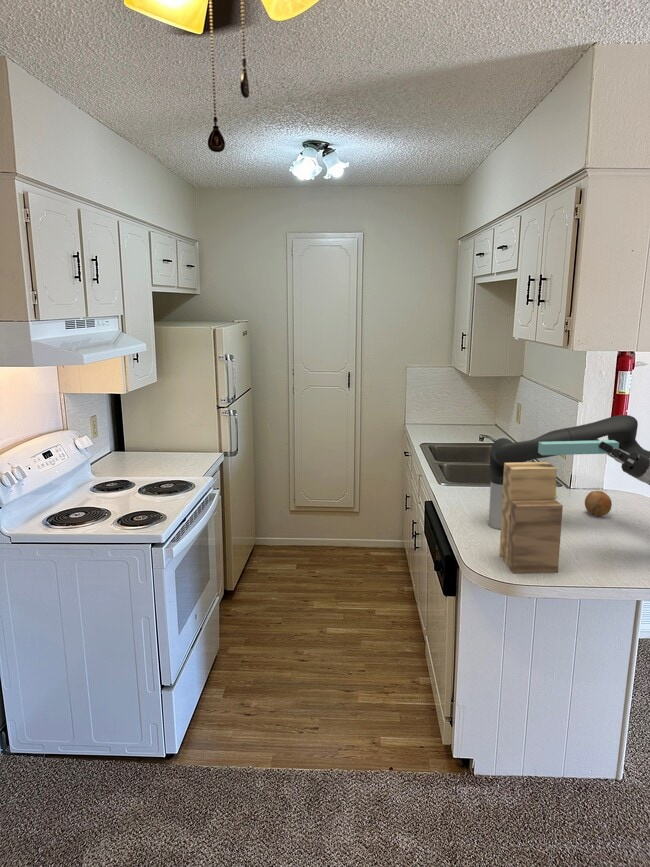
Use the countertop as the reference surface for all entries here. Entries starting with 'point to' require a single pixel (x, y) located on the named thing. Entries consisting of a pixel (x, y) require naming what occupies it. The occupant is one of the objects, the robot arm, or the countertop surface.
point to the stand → (524, 492)
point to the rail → (574, 447)
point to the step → (535, 536)
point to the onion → (598, 503)
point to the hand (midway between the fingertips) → (597, 442)
